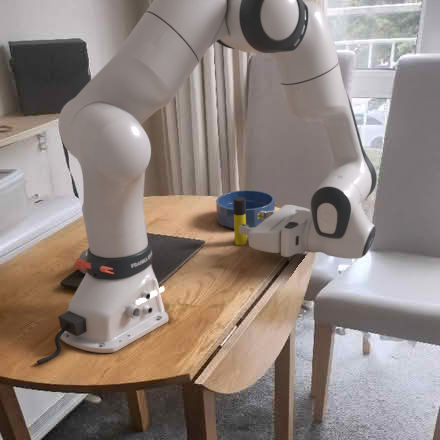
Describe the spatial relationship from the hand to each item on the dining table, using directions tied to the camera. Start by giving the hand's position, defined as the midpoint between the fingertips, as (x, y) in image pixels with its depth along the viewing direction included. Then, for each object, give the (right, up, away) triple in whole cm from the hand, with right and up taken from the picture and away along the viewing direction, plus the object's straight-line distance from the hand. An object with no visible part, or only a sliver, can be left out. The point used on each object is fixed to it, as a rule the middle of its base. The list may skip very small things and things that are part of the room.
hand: (249, 221), depth 140 cm
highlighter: (-2, -4, +5) cm, 6 cm away
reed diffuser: (-35, -9, +1) cm, 37 cm away
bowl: (0, +5, +17) cm, 18 cm away
